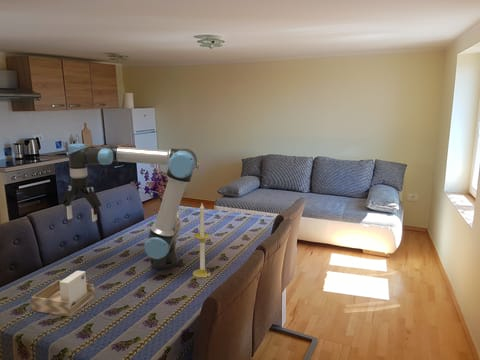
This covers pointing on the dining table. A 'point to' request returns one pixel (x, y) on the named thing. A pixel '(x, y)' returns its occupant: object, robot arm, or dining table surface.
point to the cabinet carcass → (58, 300)
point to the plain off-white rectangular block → (73, 287)
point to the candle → (201, 246)
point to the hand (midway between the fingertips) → (82, 219)
